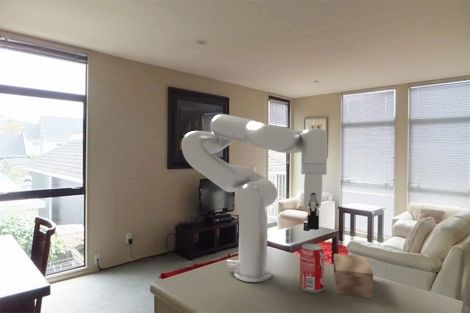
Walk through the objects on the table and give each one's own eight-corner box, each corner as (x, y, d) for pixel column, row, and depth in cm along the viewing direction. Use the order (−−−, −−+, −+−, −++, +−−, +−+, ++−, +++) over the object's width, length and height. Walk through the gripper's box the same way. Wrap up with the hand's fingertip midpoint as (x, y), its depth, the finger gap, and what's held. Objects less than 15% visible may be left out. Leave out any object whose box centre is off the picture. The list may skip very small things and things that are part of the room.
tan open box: (336, 293, 91) (336, 270, 91) (333, 273, 107) (333, 253, 107) (372, 298, 89) (373, 273, 89) (364, 277, 104) (364, 256, 104)
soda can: (324, 295, 90) (325, 250, 90) (299, 292, 92) (300, 248, 92) (323, 285, 97) (323, 243, 97) (299, 282, 99) (300, 242, 99)
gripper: (302, 168, 104) (302, 219, 104) (299, 170, 87) (299, 231, 87) (325, 168, 102) (325, 220, 102) (327, 171, 85) (327, 233, 85)
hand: (313, 225), depth 94 cm, fingers open, 9 cm apart
